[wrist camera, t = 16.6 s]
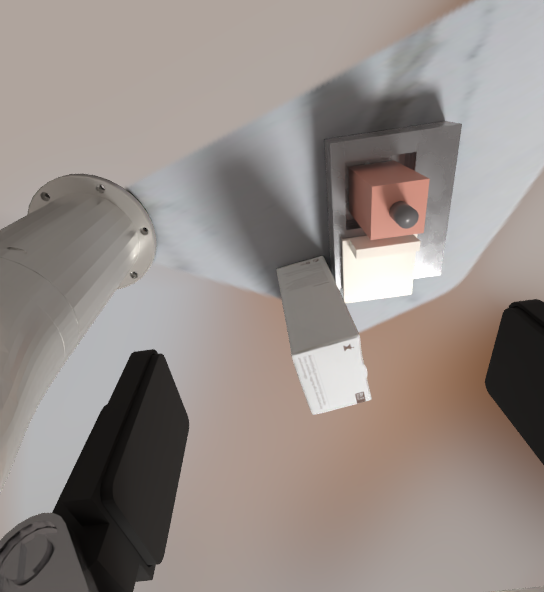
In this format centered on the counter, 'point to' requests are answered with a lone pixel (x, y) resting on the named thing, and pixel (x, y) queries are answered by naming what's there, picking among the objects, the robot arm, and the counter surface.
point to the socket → (411, 153)
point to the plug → (388, 199)
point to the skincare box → (322, 337)
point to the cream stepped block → (378, 267)
